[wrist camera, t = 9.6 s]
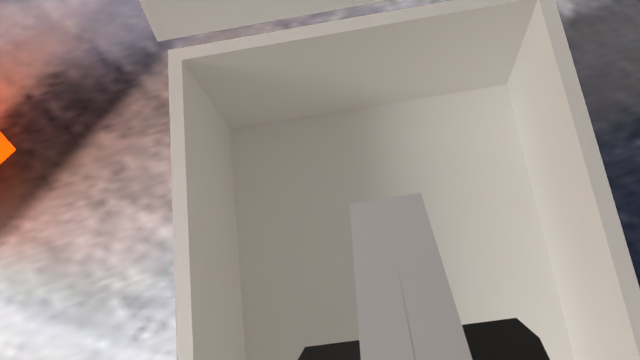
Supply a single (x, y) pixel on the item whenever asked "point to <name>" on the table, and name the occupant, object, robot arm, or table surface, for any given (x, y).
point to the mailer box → (393, 179)
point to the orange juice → (5, 148)
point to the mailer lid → (229, 13)
